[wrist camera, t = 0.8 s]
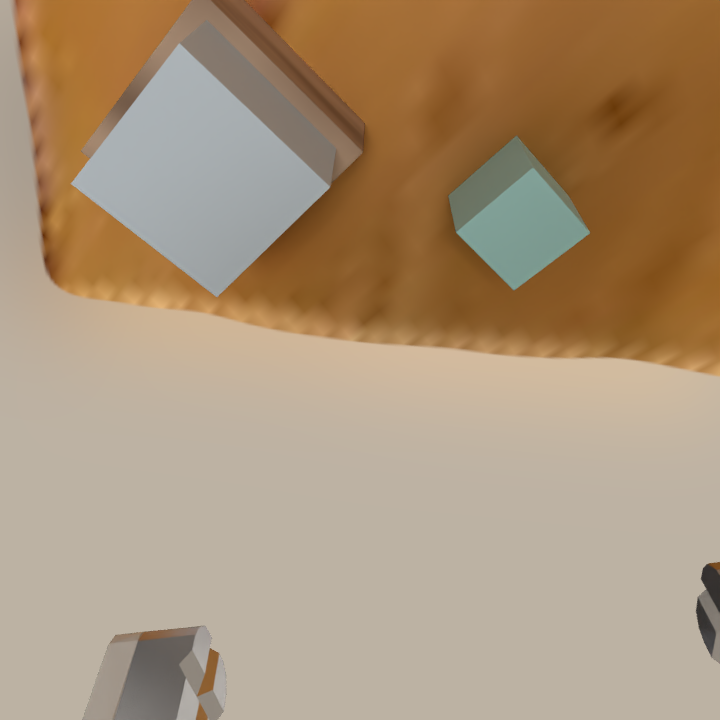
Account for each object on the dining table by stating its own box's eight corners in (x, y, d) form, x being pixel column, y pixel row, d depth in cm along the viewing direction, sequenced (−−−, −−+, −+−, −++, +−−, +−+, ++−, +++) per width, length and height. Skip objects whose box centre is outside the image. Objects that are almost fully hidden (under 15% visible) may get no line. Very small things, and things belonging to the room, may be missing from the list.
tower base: (221, -25, 32) (199, -11, 28) (364, 121, 36) (363, 152, 32) (113, 121, 37) (80, 151, 33) (251, 236, 41) (237, 276, 37)
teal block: (516, 135, 36) (533, 167, 32) (568, 195, 38) (590, 233, 34) (447, 195, 38) (455, 232, 34) (500, 249, 41) (513, 290, 37)
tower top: (206, 19, 29) (179, 43, 25) (336, 148, 32) (330, 186, 28) (108, 145, 32) (70, 183, 28) (234, 249, 36) (217, 297, 32)
